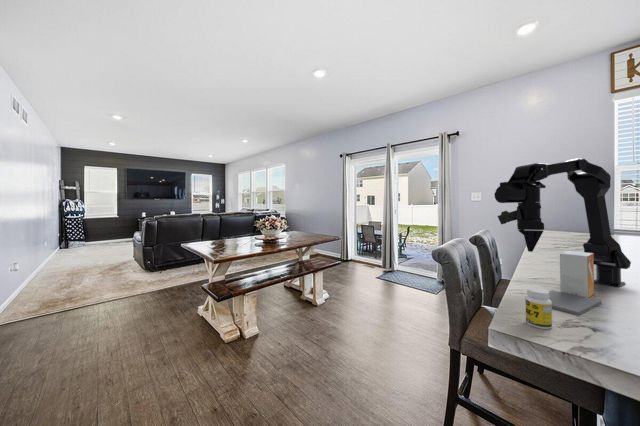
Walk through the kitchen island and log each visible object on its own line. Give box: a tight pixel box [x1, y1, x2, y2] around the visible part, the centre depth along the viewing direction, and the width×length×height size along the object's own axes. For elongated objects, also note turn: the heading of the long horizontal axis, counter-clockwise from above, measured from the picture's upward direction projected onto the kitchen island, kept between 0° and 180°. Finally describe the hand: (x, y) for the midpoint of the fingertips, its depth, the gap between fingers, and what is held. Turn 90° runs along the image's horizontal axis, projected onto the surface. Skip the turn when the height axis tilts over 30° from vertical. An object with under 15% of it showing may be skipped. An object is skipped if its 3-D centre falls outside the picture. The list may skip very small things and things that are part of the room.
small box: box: [559, 250, 595, 298], centre depth 79 cm, size 8×6×13 cm
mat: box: [548, 289, 603, 316], centre depth 72 cm, size 15×11×1 cm
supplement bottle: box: [525, 287, 553, 330], centre depth 60 cm, size 5×5×8 cm
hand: (529, 249), depth 83 cm, fingers open, 9 cm apart
